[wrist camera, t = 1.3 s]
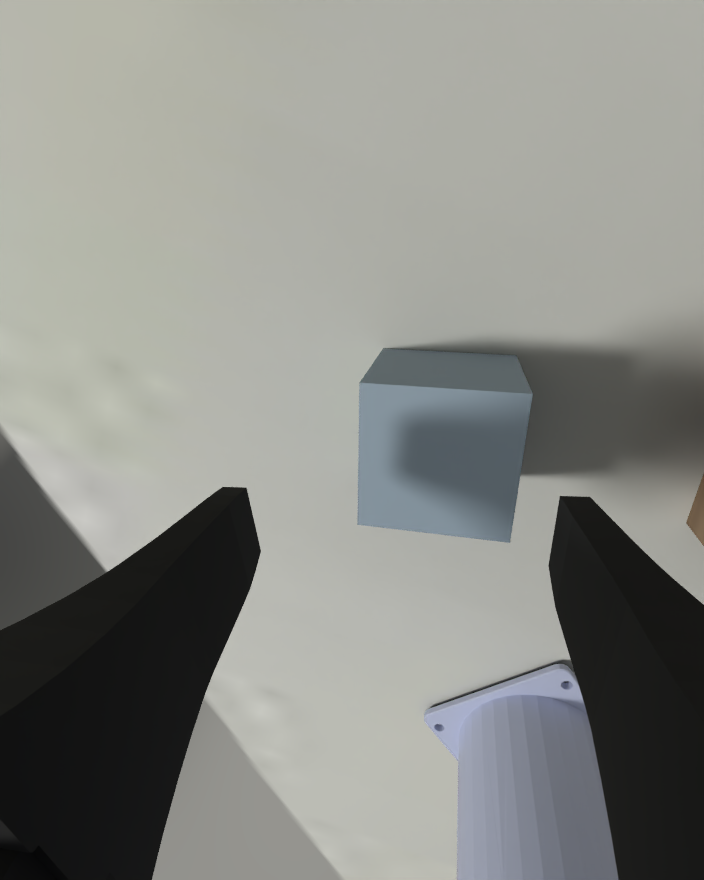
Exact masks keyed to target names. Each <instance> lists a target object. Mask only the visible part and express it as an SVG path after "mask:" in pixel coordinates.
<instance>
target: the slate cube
mask: <svg viewBox="0 0 704 880" xmlns="http://www.w3.org/2000/svg"><path fill="white" fill-rule="evenodd" d="M532 396H533V393H532V391H531V389H530V386H529V384H528V382H527V379H526V377H525V375H524V372H523V370H522V368H521V365H520V363H519V361H518V358H517V356H516V355H500V354H480V353H461V352H442V351H423V350H404V349H384V348H383V350H382V351H381V353H380V354H379V355H378V357H377V358H376V360H375V361H374V363H373V364H372V366H371V367H370V368H369V370H368V371H367V373H366V374H365V376H364V377H363V379H362V380H361V381H360V390H359V461H358V525H365V526H374V527H382V528H391V529H399V530H407V531H416V532H424V533H433V534H441V535H450V536H458V537H466V538H475V539H483V540H492V541H500V542H509V543H510V538H511V532H512V525H513V519H514V512H515V506H516V499H517V493H518V486H519V480H520V473H521V467H522V460H523V454H524V447H525V441H526V434H527V428H528V422H529V415H530V409H531V402H532Z"/></svg>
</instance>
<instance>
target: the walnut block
mask: <svg viewBox="0 0 704 880" xmlns="http://www.w3.org/2000/svg"><path fill="white" fill-rule="evenodd" d="M686 523H687V525H688V526H689V527H690V528H691V530H692V531H693V532H694V534H695V535H696V536H697V538H698V539H699V540H700V542H701V543H702V544H703V546H704V474H703V477H702V480H701V483H700V485H699V488H698V491H697V494H696V497H695V500H694V502H693V505H692V508H691V511H690V514H689V516H688V519H687V522H686Z"/></svg>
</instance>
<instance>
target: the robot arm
mask: <svg viewBox="0 0 704 880" xmlns="http://www.w3.org/2000/svg"><path fill="white" fill-rule="evenodd" d="M260 552H261V550H260V546H259V541H258V537H257V532H256V528H255V524H254V519H253V515H252V510H251V506H250V502H249V497H248V493H247V488H238V487H222V488H221V489H219V490H218V491H216V492H215V493H214V494H212V495H211V496H210V497H208V498H207V499H206V500H204V501H203V502H202V503H201V504H199V505H198V506H197V507H196V508H194V509H193V510H192V511H190V512H189V513H188V514H187V515H185V516H184V517H183V518H181V519H180V520H179V521H178V522H176V523H175V524H174V525H172V526H171V527H170V528H168V529H167V530H166V531H165V532H163V533H162V534H161V535H159V536H158V537H157V538H155V539H154V540H153V541H151V542H150V543H148V544H147V545H146V546H144V547H143V548H141V549H140V550H139V551H137V552H136V553H134V554H133V555H131V556H130V557H129V558H127V559H126V560H124V561H123V562H122V563H120V564H119V565H117V566H116V567H114V568H113V569H111V570H110V571H108V572H106V573H105V574H103V575H102V576H100V577H99V578H97V579H95V580H94V581H92V582H90V583H89V584H87V585H85V586H84V587H82V588H80V589H79V590H77V591H76V592H74V593H72V594H70V595H68V596H67V597H65V598H63V599H61V600H59V601H57V602H55V603H53V604H51V605H50V606H48V607H46V608H44V609H42V610H40V611H38V612H37V613H35V614H32V615H31V616H29V617H27V618H25V619H23V620H21V621H19V622H17V623H15V624H13V625H11V626H8V627H6V628H4V629H2V630H0V880H152V876H153V872H154V868H155V864H156V860H157V856H158V852H159V848H160V844H161V840H162V836H163V832H164V828H165V825H166V821H167V818H168V814H169V810H170V807H171V803H172V799H173V796H174V792H175V789H176V785H177V781H178V778H179V774H180V771H181V768H182V764H183V761H184V758H185V755H186V751H187V748H188V745H189V741H190V738H191V735H192V731H193V728H194V725H195V723H196V720H197V716H198V713H199V711H200V707H201V704H202V701H203V698H204V695H205V692H206V690H207V687H208V685H209V682H210V680H211V677H212V674H213V672H214V670H215V667H216V665H217V663H218V661H219V658H220V656H221V654H222V652H223V649H224V647H225V645H226V643H227V640H228V638H229V636H230V634H231V631H232V629H233V627H234V625H235V622H236V620H237V618H238V616H239V613H240V611H241V609H242V606H243V604H244V602H245V599H246V597H247V595H248V592H249V590H250V587H251V584H252V581H253V577H254V574H255V571H256V567H257V563H258V560H259V556H260ZM549 571H550V577H551V584H552V590H553V596H554V601H555V607H556V611H557V614H558V618H559V621H560V625H561V628H562V631H563V635H564V638H565V641H566V645H567V648H568V651H569V655H570V658H571V661H572V665H573V668H574V671H575V674H574V673H573V672H572V670H571V669H570V668H569V667H568V666H566V665H564V664H554V665H552V666H549V667H546V668H543V669H540V670H537V671H535V672H532V673H529V674H526V675H523V676H520V677H518V678H515V679H512V680H509V681H506V682H503V683H500V684H498V685H495V686H492V687H489V688H486V689H483V690H481V691H478V692H475V693H472V694H469V695H466V696H464V697H461V698H458V699H455V700H452V701H449V702H447V703H444V704H441V705H438V706H435V707H432V708H429V709H427V710H426V711H425V714H424V721H425V723H426V724H427V725H428V726H429V728H430V729H431V730H432V731H433V732H434V734H435V735H436V736H437V737H438V738H439V739H440V741H441V742H442V743H443V744H444V745H445V746H446V748H447V749H448V750H449V751H450V752H451V754H452V755H453V756H454V757H455V758H456V759H457V761H458V820H457V880H704V605H703V604H702V603H701V602H700V601H698V600H697V599H696V598H695V597H694V596H693V595H691V594H690V593H689V592H688V591H687V590H686V589H684V588H683V587H682V586H681V585H680V584H679V583H677V582H676V581H675V580H674V579H673V578H672V577H671V576H669V575H668V574H667V573H666V572H665V571H664V570H663V569H662V568H661V567H660V566H659V565H657V564H656V563H655V562H654V561H653V560H652V559H651V558H650V557H649V556H648V555H647V554H646V553H645V552H644V551H643V550H642V549H641V548H640V547H639V546H638V545H637V544H636V543H635V542H634V541H633V540H632V539H631V538H630V537H629V536H628V535H627V534H626V533H625V532H624V531H623V530H622V529H621V528H620V527H619V526H618V525H617V524H616V523H615V522H614V521H613V520H612V519H611V518H610V517H609V516H608V515H607V514H606V513H605V512H604V511H603V510H602V509H601V508H600V507H599V506H598V505H597V504H596V503H595V502H594V501H593V500H592V499H591V498H590V497H572V496H560V500H559V506H558V512H557V518H556V524H555V530H554V536H553V542H552V548H551V554H550V560H549ZM575 675H576V676H575ZM564 681H569V682H567V683H564ZM439 724H441V725H439Z"/></svg>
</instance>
